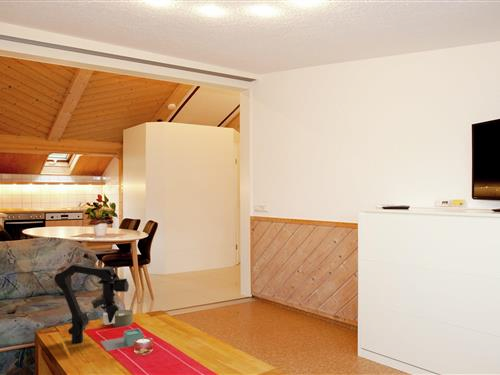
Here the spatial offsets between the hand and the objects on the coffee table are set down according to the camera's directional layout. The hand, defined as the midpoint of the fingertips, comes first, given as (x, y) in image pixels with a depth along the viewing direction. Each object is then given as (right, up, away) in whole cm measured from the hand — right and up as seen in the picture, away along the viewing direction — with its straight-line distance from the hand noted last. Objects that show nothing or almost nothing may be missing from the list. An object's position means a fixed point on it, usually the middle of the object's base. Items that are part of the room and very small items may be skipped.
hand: (108, 321), depth 234 cm
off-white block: (0, -1, 0) cm, 1 cm away
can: (-3, -12, +34) cm, 37 cm away
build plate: (+7, -12, -1) cm, 14 cm away
